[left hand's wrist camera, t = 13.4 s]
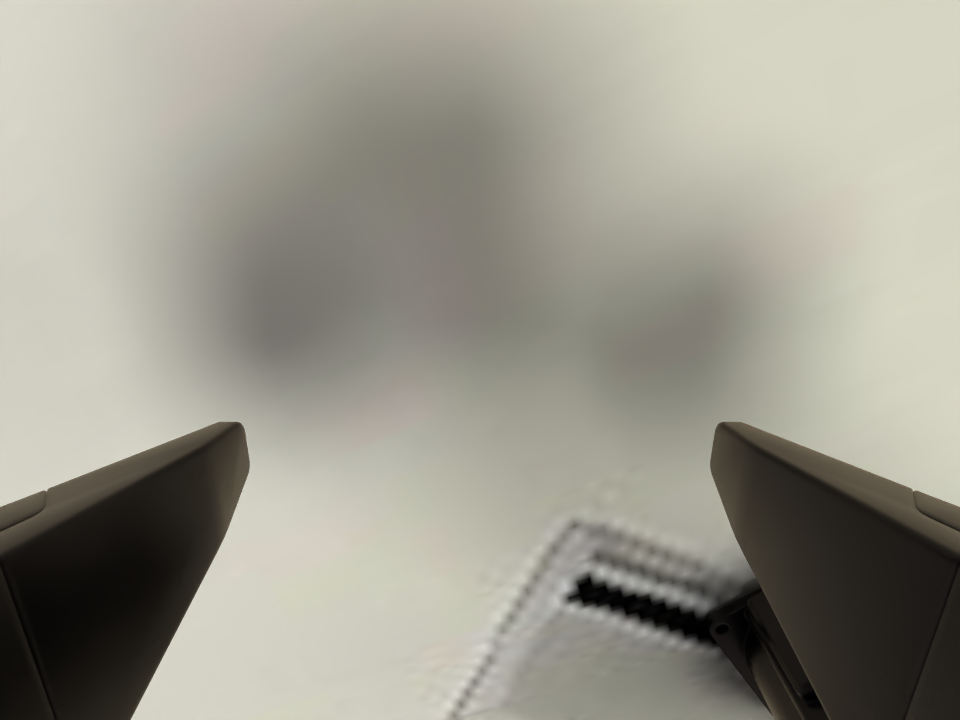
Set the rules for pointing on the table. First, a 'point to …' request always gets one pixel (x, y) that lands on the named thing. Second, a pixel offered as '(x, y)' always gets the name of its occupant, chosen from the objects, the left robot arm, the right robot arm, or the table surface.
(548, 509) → the table surface
